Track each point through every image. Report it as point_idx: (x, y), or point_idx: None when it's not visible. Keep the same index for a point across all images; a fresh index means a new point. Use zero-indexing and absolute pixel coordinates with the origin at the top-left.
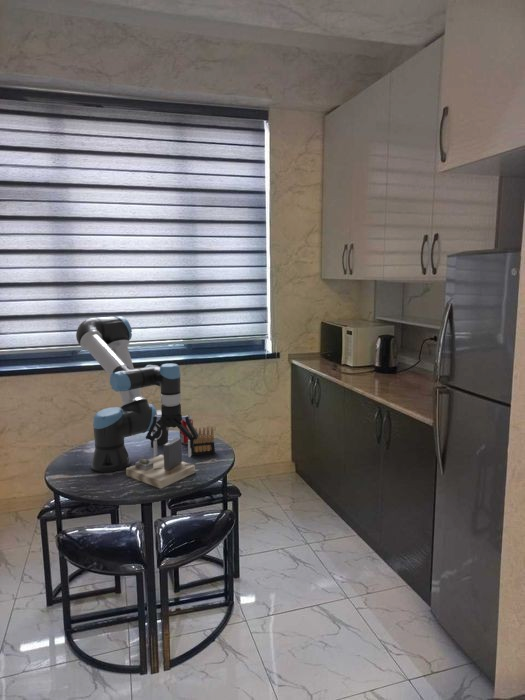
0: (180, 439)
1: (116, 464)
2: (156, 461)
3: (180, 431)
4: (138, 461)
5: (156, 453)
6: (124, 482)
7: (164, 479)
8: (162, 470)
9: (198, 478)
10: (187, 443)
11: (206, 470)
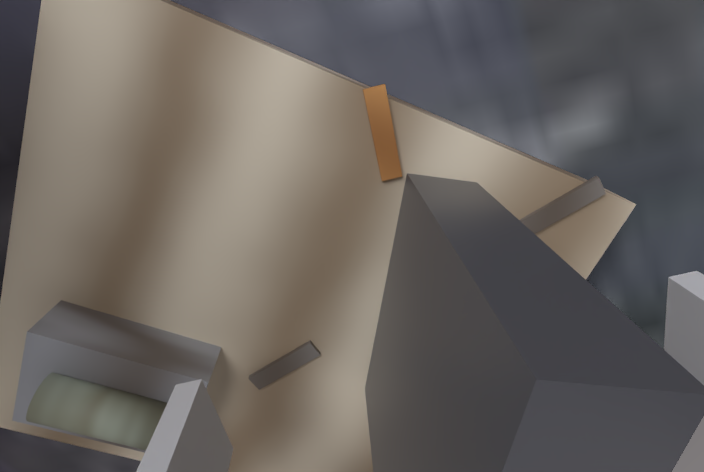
0: (683, 416)
1: None
2: (156, 208)
3: None
4: (29, 397)
5: (210, 438)
6: (109, 460)
7: None
8: (345, 382)
9: (639, 281)
10: None
11: (696, 104)
